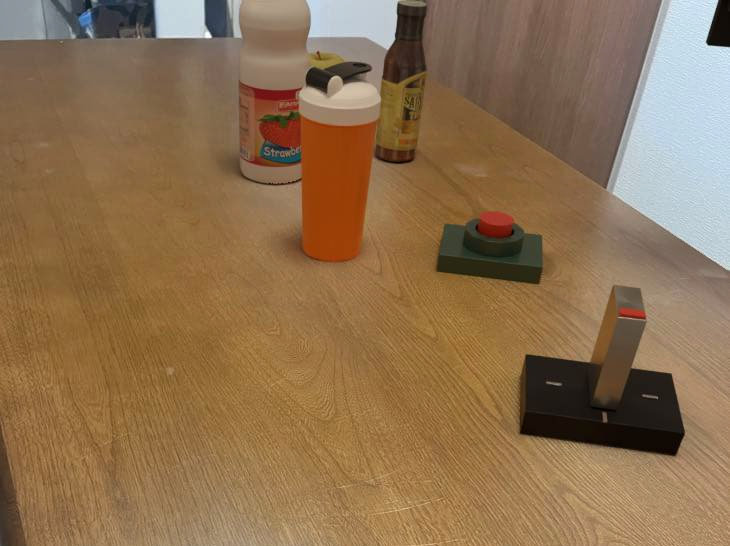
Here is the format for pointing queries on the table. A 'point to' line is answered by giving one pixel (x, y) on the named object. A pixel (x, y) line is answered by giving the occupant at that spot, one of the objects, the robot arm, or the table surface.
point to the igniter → (491, 254)
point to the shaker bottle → (336, 158)
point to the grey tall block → (616, 346)
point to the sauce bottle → (402, 86)
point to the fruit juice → (272, 87)
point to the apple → (324, 60)
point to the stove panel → (597, 425)
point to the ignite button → (495, 224)
